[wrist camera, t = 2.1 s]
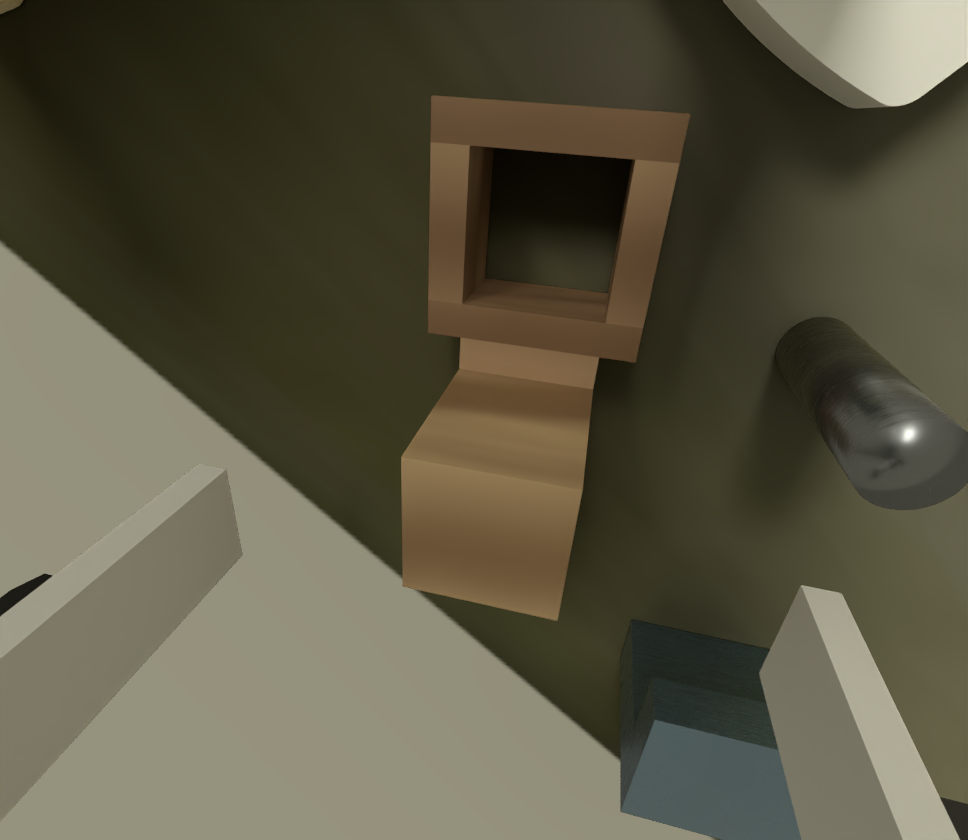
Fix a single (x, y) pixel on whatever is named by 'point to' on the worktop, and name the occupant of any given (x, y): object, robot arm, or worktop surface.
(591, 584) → the worktop surface
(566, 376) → the square loop handle
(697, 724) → the bracket
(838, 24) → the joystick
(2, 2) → the grandmother figurine
